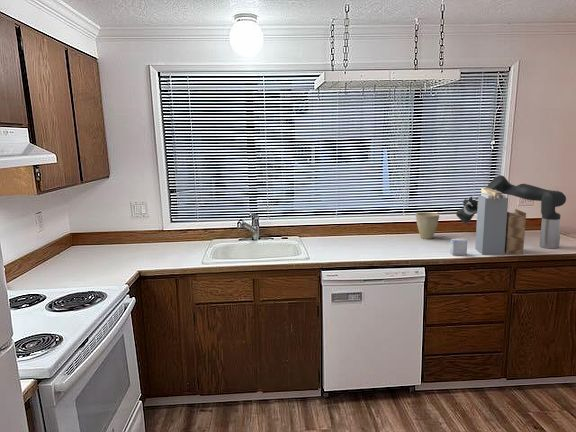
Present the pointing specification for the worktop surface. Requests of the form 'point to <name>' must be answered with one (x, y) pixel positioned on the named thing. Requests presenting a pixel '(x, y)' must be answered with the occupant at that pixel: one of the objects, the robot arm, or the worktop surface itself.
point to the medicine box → (458, 247)
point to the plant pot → (427, 224)
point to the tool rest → (515, 232)
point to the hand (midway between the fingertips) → (478, 198)
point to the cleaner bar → (492, 193)
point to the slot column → (491, 224)
